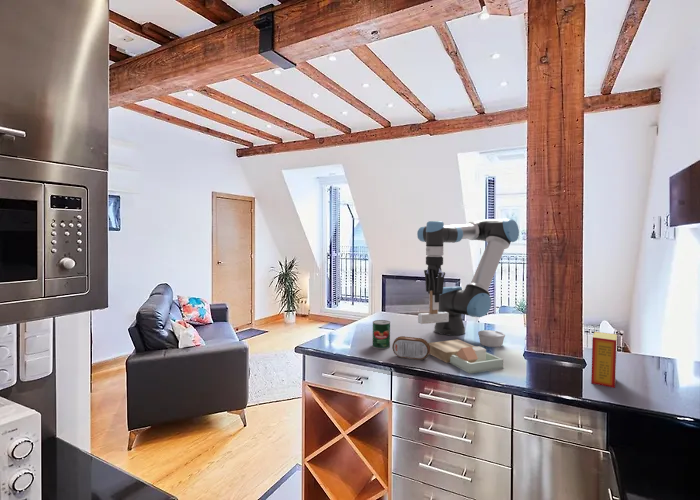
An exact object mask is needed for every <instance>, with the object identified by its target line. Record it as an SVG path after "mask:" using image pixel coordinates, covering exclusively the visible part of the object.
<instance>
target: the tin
mask: <svg viewBox="0 0 700 500" xmlns="http://www.w3.org/2000/svg"><path fill="white" fill-rule="evenodd" d="M428 343H429V342H428V341H427V340H426V339H424V338H422V337H413V336H412V337H411V336H405V335H404V336H403V335H401V336H398V337H396V338H395V339H394V340H393V343H392V352H393V353H394V355H396V356H397V357H398V358H401V359H409V360H410V359H411V360H419V361H421V360H424V359H426V358H427V357H428V355H430V354H429V352H430V346H429V344H428Z"/></svg>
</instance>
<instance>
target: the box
mask: <svg viewBox="0 0 700 500" xmlns="http://www.w3.org/2000/svg"><path fill="white" fill-rule="evenodd" d="M449 364H451V365H453V366H455V367H456V368H458V369H460V370H462V371H464V372H466V373H468V374H469V375H470V374H472V375H473V374H479V373H483V372H484V373H485V372H489V371H490V372H491V371H496V370H501V369H502V370H504V358H502V357H499V356H497V355H495V354H492V353H489V352H487V351H486V361H480V362H474V363H470V362H468V361H466V360H464V359H462V358H459V357H458V356H455V355H452V357H450V362H449Z"/></svg>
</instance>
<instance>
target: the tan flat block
mask: <svg viewBox="0 0 700 500" xmlns="http://www.w3.org/2000/svg"><path fill="white" fill-rule="evenodd" d="M428 344H429V346H430V352H429V354H428V355H431V356H433V357H435V358H437V359H438V360H440V361H441V362H442V361H443V362H444V363H446V364H447V363H450V357H452V355H455V356H457V354H456V353H457V352H458V351H459V350H460V349H461V348H466V347H476V346H475V345H473V344H471V343H467V342H465V341H463V340H460V339H451V340H443V341H435V342H428Z"/></svg>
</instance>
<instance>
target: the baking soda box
mask: <svg viewBox="0 0 700 500" xmlns="http://www.w3.org/2000/svg"><path fill="white" fill-rule="evenodd" d="M591 341H592V343H591V345H592V348H591V376H590V379H591V382H590V384H593V385H597V386H603V387H608V388H613V389H616V378H617V373H616V372H617V347H618V346H617V344H618V343H617V342H618V334H616V333H608V332H599V331H594V332H593V335H592V340H591Z"/></svg>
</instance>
